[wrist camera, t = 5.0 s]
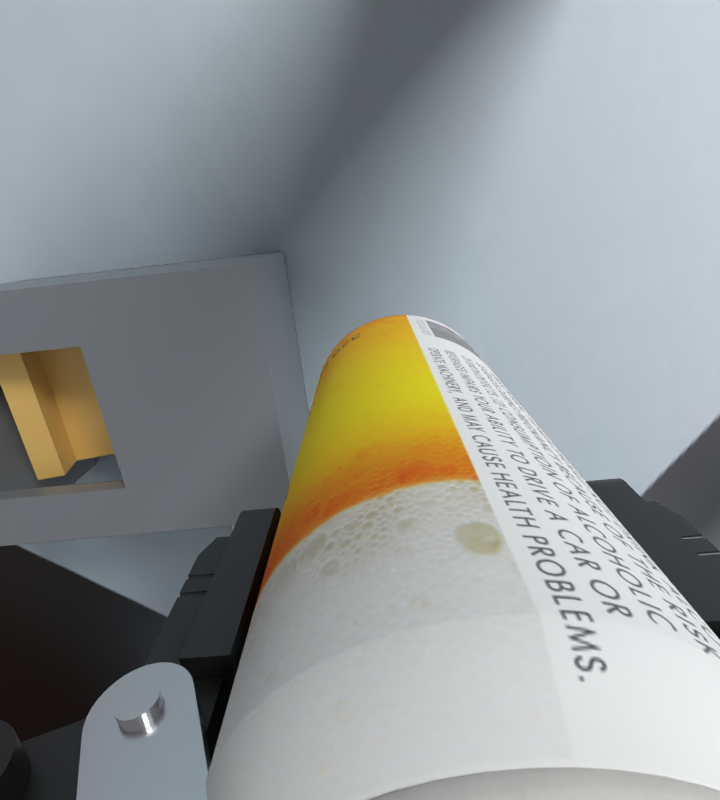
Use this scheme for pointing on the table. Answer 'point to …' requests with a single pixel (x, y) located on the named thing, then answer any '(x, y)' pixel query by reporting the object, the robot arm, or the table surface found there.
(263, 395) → the box
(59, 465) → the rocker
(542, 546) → the beer can
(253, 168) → the table surface
